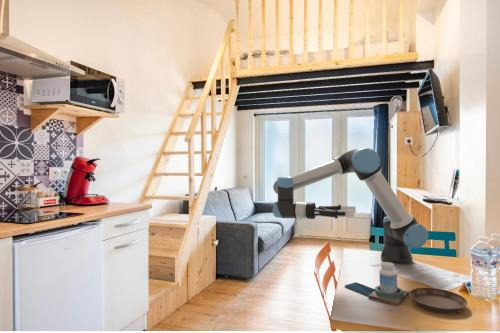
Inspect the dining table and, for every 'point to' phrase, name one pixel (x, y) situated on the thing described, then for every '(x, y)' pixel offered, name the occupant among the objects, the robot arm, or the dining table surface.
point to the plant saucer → (438, 300)
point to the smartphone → (360, 288)
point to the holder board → (389, 301)
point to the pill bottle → (388, 278)
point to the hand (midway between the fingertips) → (354, 211)
